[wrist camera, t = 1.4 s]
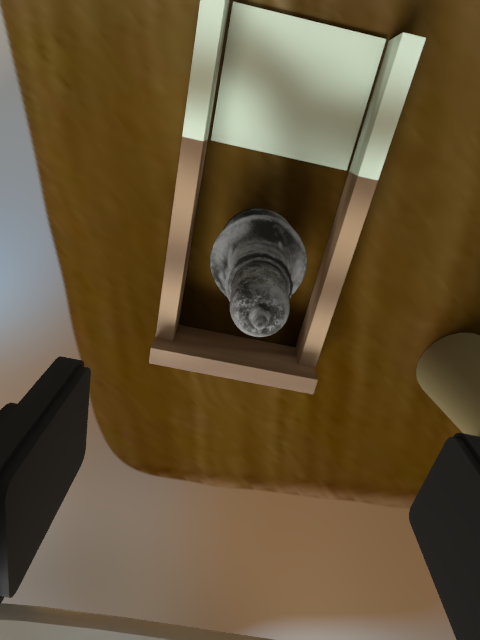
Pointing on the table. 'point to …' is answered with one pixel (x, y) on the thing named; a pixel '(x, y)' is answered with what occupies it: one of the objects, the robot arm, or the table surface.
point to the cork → (454, 378)
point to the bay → (288, 141)
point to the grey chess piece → (258, 269)
